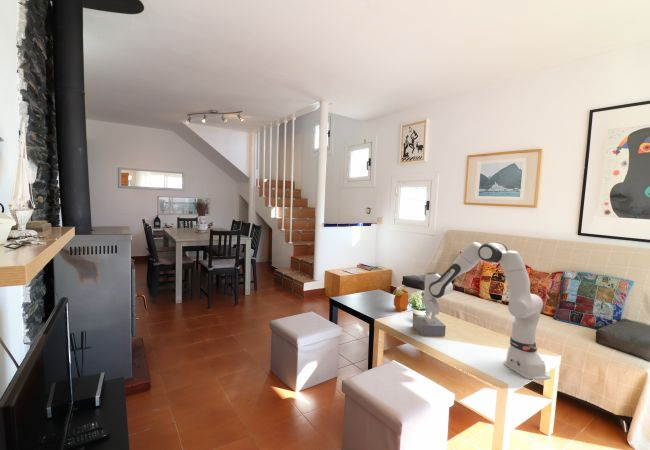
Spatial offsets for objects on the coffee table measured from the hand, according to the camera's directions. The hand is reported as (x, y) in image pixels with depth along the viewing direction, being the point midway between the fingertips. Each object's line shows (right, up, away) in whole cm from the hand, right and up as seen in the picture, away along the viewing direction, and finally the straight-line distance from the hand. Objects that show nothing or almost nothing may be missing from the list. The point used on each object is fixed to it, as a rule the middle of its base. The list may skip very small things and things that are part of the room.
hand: (429, 316), depth 220 cm
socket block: (-1, -11, +1) cm, 11 cm away
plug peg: (-1, -11, +1) cm, 11 cm away
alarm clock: (-10, -7, +41) cm, 43 cm away
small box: (+2, -9, +20) cm, 23 cm away
